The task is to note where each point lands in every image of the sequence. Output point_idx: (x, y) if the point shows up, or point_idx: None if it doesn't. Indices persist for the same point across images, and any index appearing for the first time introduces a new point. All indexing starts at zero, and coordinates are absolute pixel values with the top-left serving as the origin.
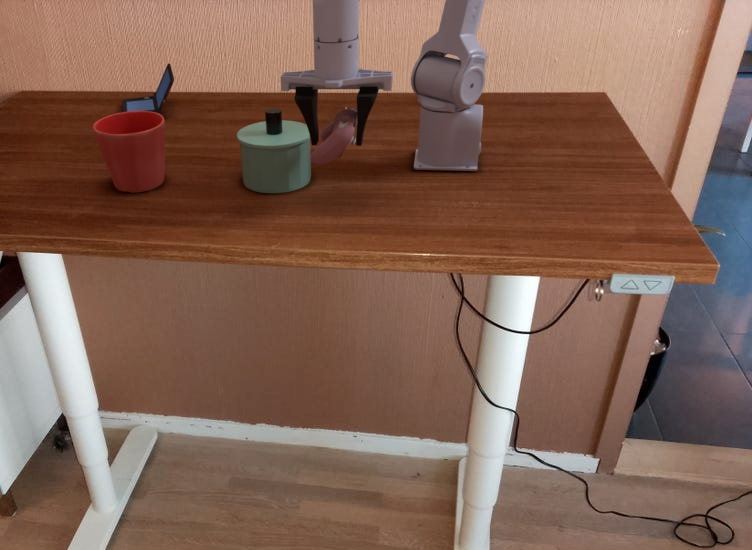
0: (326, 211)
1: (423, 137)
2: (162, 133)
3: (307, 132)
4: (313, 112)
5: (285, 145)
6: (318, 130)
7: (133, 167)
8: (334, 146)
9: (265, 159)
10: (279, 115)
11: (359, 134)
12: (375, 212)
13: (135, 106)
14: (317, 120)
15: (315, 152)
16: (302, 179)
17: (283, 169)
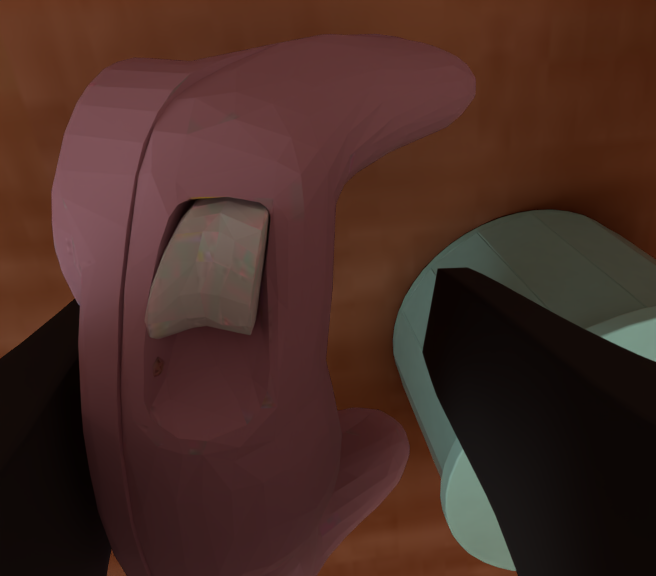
0: (300, 34)
1: None
2: None
3: (468, 484)
4: (609, 431)
5: (595, 333)
6: (443, 403)
7: None
8: (285, 44)
9: (650, 279)
10: None
11: (75, 316)
12: (47, 34)
13: None
14: (477, 463)
15: (456, 64)
16: (429, 290)
17: (537, 268)
